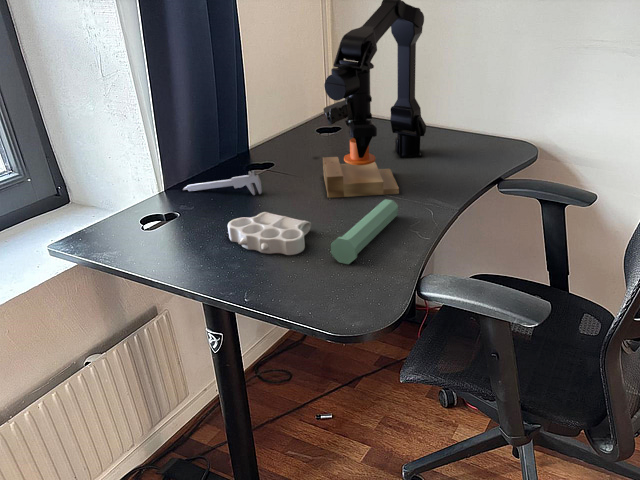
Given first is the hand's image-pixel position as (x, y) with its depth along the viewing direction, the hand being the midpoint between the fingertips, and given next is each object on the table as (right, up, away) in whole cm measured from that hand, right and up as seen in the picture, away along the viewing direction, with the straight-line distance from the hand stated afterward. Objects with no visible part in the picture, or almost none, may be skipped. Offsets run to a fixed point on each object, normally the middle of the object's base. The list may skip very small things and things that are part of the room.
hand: (359, 154), depth 155 cm
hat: (0, -1, +1) cm, 2 cm away
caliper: (-35, -10, -1) cm, 36 cm away
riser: (0, -7, +5) cm, 8 cm away
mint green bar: (+4, -24, -21) cm, 32 cm away
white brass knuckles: (-18, -24, -22) cm, 37 cm away
